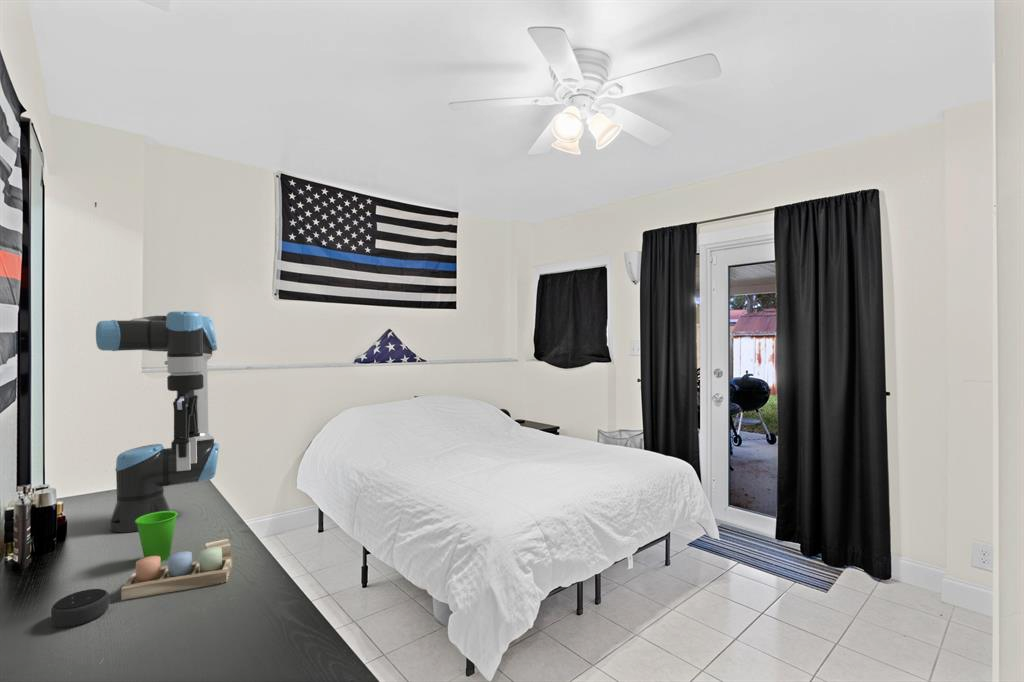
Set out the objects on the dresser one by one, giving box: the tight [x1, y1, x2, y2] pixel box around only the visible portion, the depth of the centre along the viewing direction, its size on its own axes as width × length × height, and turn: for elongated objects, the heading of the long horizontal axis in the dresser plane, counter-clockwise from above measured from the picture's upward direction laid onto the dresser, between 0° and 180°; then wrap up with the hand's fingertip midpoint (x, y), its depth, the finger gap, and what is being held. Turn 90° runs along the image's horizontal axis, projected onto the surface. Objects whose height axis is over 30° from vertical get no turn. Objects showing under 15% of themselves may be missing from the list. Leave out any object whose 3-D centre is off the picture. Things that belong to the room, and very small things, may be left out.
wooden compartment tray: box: [120, 555, 233, 601], centre depth 117 cm, size 9×20×2 cm, turn 112°
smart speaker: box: [50, 588, 110, 628], centre depth 103 cm, size 9×9×4 cm
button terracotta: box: [135, 556, 162, 583], centre depth 114 cm, size 5×5×4 cm
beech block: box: [205, 538, 232, 558], centre depth 126 cm, size 5×5×5 cm
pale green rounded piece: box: [198, 547, 222, 572], centre depth 119 cm, size 5×5×4 cm
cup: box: [135, 510, 179, 562], centre depth 129 cm, size 9×9×11 cm
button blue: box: [167, 550, 193, 577], centre depth 117 cm, size 5×5×4 cm
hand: (187, 466), depth 124 cm, fingers open, 6 cm apart
